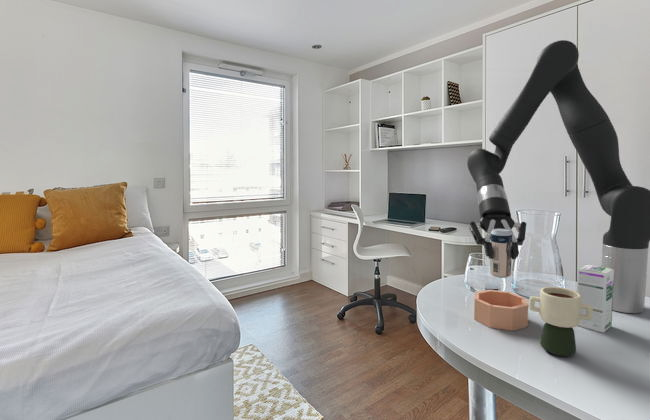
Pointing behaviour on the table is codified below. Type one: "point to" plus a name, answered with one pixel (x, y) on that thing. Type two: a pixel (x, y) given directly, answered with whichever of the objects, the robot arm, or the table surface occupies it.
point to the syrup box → (596, 295)
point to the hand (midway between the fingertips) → (502, 257)
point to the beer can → (501, 253)
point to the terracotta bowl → (501, 310)
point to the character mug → (559, 318)
